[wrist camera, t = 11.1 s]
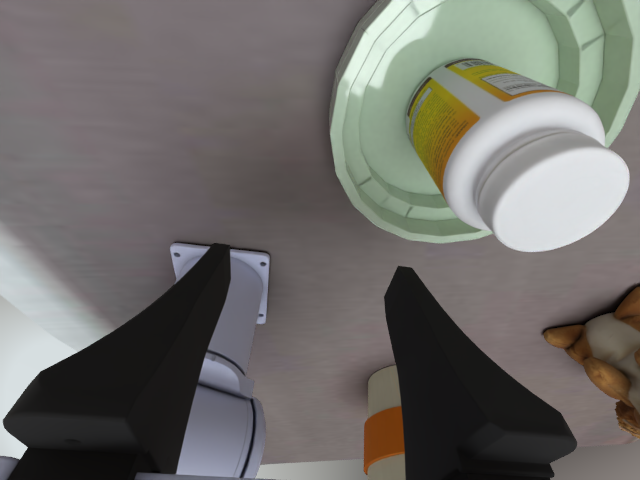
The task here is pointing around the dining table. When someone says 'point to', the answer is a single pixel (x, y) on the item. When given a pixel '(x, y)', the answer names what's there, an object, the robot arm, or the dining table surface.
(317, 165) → the dining table surface
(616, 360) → the stuffed squirrel
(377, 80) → the bowl
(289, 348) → the dining table surface
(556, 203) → the supplement bottle
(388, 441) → the reusable coffee cup
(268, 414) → the dining table surface
